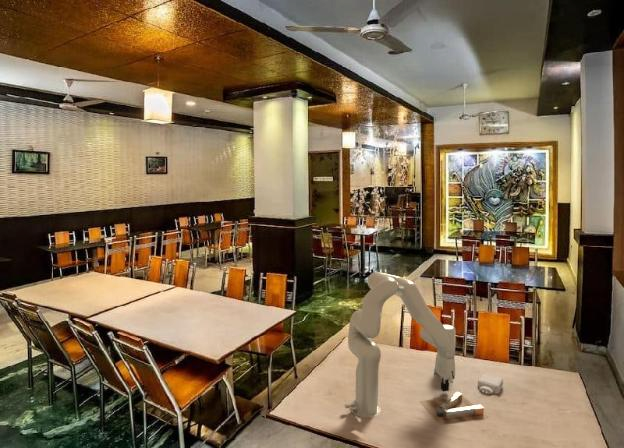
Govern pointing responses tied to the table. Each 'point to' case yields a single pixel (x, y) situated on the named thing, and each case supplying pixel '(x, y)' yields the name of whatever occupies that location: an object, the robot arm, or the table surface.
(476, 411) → the bar
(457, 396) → the tong leg
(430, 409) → the board
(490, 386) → the charger
